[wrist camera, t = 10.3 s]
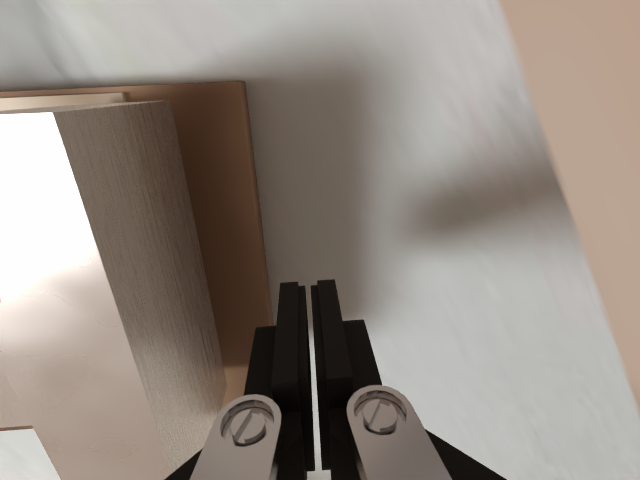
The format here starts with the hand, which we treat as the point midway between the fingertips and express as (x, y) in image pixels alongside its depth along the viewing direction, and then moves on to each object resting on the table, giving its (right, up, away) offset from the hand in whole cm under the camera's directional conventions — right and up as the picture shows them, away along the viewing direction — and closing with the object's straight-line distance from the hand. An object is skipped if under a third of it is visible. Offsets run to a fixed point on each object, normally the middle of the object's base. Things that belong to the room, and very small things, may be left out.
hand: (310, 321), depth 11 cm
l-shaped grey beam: (-11, +1, +3) cm, 12 cm away
